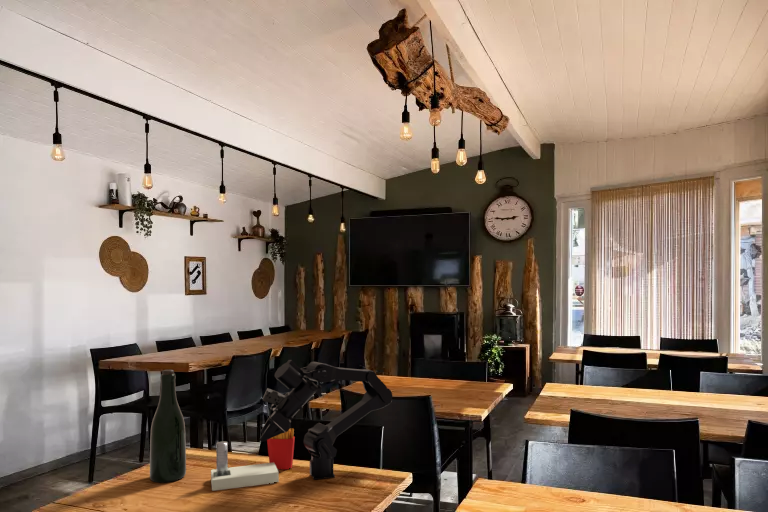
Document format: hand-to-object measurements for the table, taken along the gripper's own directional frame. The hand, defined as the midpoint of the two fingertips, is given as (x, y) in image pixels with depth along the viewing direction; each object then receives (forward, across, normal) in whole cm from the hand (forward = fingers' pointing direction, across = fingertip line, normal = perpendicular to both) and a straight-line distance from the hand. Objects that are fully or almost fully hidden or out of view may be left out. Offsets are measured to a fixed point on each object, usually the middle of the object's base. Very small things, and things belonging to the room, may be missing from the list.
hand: (261, 436), depth 170 cm
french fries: (+6, -14, +14) cm, 20 cm away
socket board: (+13, -3, +6) cm, 15 cm away
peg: (+18, -2, +2) cm, 18 cm away
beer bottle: (+30, -12, -10) cm, 34 cm away
